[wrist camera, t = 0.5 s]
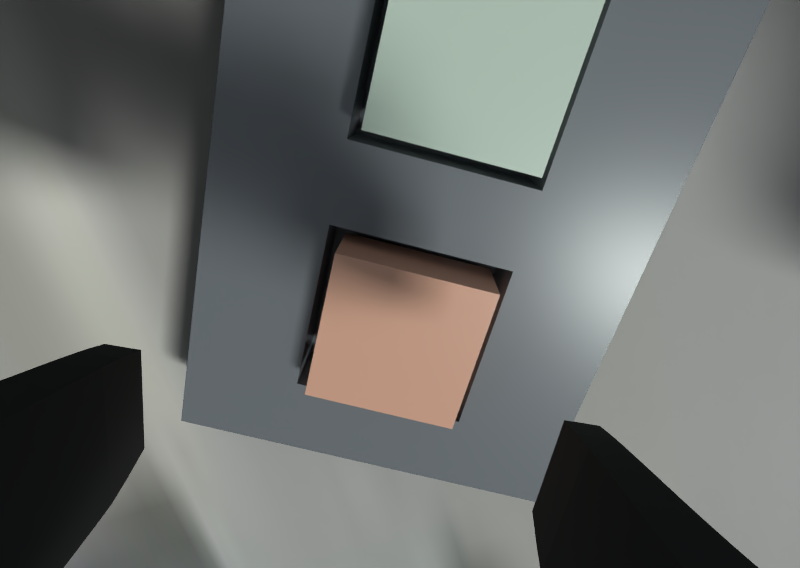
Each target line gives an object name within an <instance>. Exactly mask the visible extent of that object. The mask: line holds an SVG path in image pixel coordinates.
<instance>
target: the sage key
mask: <svg viewBox="0 0 800 568" xmlns="http://www.w3.org/2000/svg"><path fill="white" fill-rule="evenodd" d="M604 3H605V0H389V1H388V6H387V11H386V15H385V20H384V25H383V30H382V34H381V39H380V44H379V48H378V53H377V58H376V62H375V67H374V72H373V76H372V81H371V86H370V91H369V95H368V100H367V105H366V109H365V114H364V119H363V123H362V128H361V130H363V131H367V132H371V133H375V134H378V135H382V136H386V137H390V138H393V139H397V140H401V141H405V142H408V143H412V144H416V145H420V146H423V147H427V148H431V149H435V150H438V151H442V152H446V153H450V154H453V155H457V156H461V157H465V158H469V159H472V160H476V161H480V162H484V163H487V164H491V165H495V166H499V167H502V168H506V169H510V170H514V171H517V172H521V173H525V174H529V175H532V176H536V177H540V178H542V177H543V174H544V171H545V168H546V165H547V163H548V160H549V157H550V154H551V151H552V149H553V146H554V143H555V140H556V137H557V135H558V132H559V129H560V126H561V123H562V121H563V118H564V115H565V112H566V109H567V107H568V104H569V101H570V98H571V95H572V93H573V90H574V87H575V84H576V82H577V79H578V76H579V73H580V70H581V68H582V65H583V62H584V59H585V56H586V54H587V51H588V48H589V45H590V42H591V40H592V37H593V34H594V31H595V28H596V26H597V23H598V20H599V17H600V14H601V12H602V9H603V6H604Z"/></svg>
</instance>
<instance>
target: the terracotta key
mask: <svg viewBox="0 0 800 568" xmlns="http://www.w3.org/2000/svg"><path fill="white" fill-rule="evenodd" d="M499 297H500V293H499V291H498V288H497V286H496V283H495V280H494V278H493V275H492V273H491V270H490V269H487V268H483V267H480V266H476V265H472V264H468V263H464V262H460V261H456V260H452V259H448V258H444V257H440V256H436V255H432V254H428V253H424V252H421V251H417V250H413V249H409V248H405V247H401V246H397V245H393V244H389V243H385V242H381V241H377V240H373V239H369V238H365V237H362V236H358V235H354V234H350V233H346V234H345V235H344V237H343V239H342V241H341V243H340V245H339V246H338V248H337V250H336V252H335V255H334V260H333V264H332V269H331V274H330V278H329V283H328V288H327V292H326V297H325V302H324V306H323V311H322V316H321V321H320V325H319V330H318V335H317V339H316V344H315V349H314V353H313V358H312V363H311V367H310V372H309V377H308V382H307V386H306V391H305V395H309V396H313V397H317V398H322V399H326V400H330V401H334V402H339V403H343V404H347V405H351V406H356V407H360V408H364V409H368V410H373V411H377V412H381V413H385V414H390V415H394V416H398V417H402V418H407V419H411V420H415V421H419V422H424V423H428V424H432V425H436V426H441V427H445V428H449V429H452V428H453V426H454V423H455V420H456V417H457V414H458V412H459V409H460V406H461V403H462V400H463V398H464V395H465V392H466V389H467V386H468V384H469V381H470V378H471V375H472V372H473V370H474V367H475V364H476V361H477V358H478V356H479V353H480V350H481V347H482V344H483V342H484V339H485V336H486V333H487V330H488V328H489V325H490V322H491V319H492V316H493V314H494V311H495V308H496V305H497V302H498V300H499Z"/></svg>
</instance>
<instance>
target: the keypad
mask: <svg viewBox="0 0 800 568" xmlns="http://www.w3.org/2000/svg"><path fill="white" fill-rule="evenodd" d="M388 1H389V0H225V5H224V15H223V24H222V34H221V44H220V53H219V63H218V73H217V82H216V92H215V101H214V111H213V121H212V130H211V140H210V149H209V159H208V169H207V178H206V188H205V198H204V207H203V217H202V226H201V236H200V246H199V255H198V265H197V275H196V284H195V294H194V303H193V313H192V323H191V332H190V342H189V351H188V361H187V371H186V380H185V390H184V400H183V409H182V419H181V421H185V422H189V423H194V424H198V425H202V426H207V427H211V428H216V429H220V430H224V431H229V432H233V433H237V434H242V435H246V436H251V437H255V438H259V439H264V440H268V441H272V442H277V443H281V444H285V445H290V446H294V447H299V448H303V449H307V450H312V451H316V452H320V453H325V454H329V455H333V456H338V457H342V458H347V459H351V460H355V461H360V462H364V463H368V464H373V465H377V466H381V467H386V468H390V469H395V470H399V471H403V472H408V473H412V474H416V475H421V476H425V477H429V478H434V479H438V480H443V481H447V482H451V483H456V484H460V485H464V486H469V487H473V488H477V489H482V490H486V491H491V492H495V493H499V494H504V495H508V496H512V497H517V498H521V499H525V500H530V501H534V502H536V499H537V496H538V494H539V491H540V488H541V485H542V482H543V479H544V476H545V474H546V471H547V468H548V465H549V462H550V459H551V456H552V454H553V451H554V448H555V445H556V442H557V439H558V437H559V434H560V431H561V428H562V425H563V422H564V420H566V421H572V422H573V421H574V419H575V417H576V414H577V412H578V410H579V408H580V406H581V404H582V402H583V399H584V397H585V395H586V393H587V391H588V389H589V387H590V384H591V382H592V380H593V378H594V376H595V374H596V372H597V369H598V367H599V365H600V363H601V361H602V359H603V357H604V354H605V352H606V350H607V348H608V346H609V344H610V342H611V339H612V337H613V335H614V333H615V331H616V329H617V327H618V325H619V322H620V320H621V318H622V316H623V314H624V312H625V310H626V307H627V305H628V303H629V301H630V299H631V297H632V295H633V292H634V290H635V288H636V286H637V284H638V282H639V280H640V277H641V275H642V273H643V271H644V269H645V267H646V265H647V262H648V260H649V258H650V256H651V254H652V252H653V250H654V247H655V245H656V243H657V241H658V239H659V237H660V235H661V232H662V230H663V228H664V226H665V224H666V222H667V220H668V217H669V215H670V213H671V211H672V209H673V207H674V205H675V202H676V200H677V198H678V196H679V194H680V192H681V190H682V187H683V185H684V183H685V181H686V179H687V177H688V175H689V172H690V170H691V168H692V166H693V164H694V162H695V160H696V157H697V155H698V153H699V151H700V149H701V147H702V145H703V143H704V140H705V138H706V136H707V134H708V132H709V130H710V128H711V125H712V123H713V121H714V119H715V117H716V115H717V113H718V110H719V108H720V106H721V104H722V102H723V100H724V98H725V95H726V93H727V91H728V89H729V87H730V85H731V83H732V80H733V78H734V76H735V74H736V72H737V70H738V68H739V65H740V63H741V61H742V59H743V57H744V55H745V53H746V50H747V48H748V46H749V44H750V42H751V40H752V38H753V35H754V33H755V31H756V29H757V27H758V25H759V23H760V20H761V18H762V16H763V14H764V12H765V10H766V8H767V5H768V3H769V1H770V0H605V3H604V6H603V9H602V12H601V14H600V17H599V20H598V23H597V26H596V28H595V31H594V34H593V37H592V40H591V42H590V45H589V48H588V51H587V54H586V56H585V59H584V62H583V65H582V68H581V70H580V73H579V76H578V79H577V82H576V84H575V87H574V90H573V93H572V95H571V98H570V101H569V104H568V107H567V109H566V112H565V115H564V118H563V121H562V123H561V126H560V129H559V132H558V135H557V137H556V140H555V143H554V146H553V149H552V151H551V154H550V157H549V160H548V163H547V165H546V168H545V171H544V174H543V177H542V178H540V177H536V176H532V175H529V174H525V173H521V172H517V171H514V170H510V169H506V168H502V167H499V166H495V165H491V164H487V163H484V162H480V161H476V160H472V159H469V158H465V157H461V156H457V155H453V154H450V153H446V152H442V151H438V150H435V149H431V148H427V147H423V146H420V145H416V144H412V143H408V142H405V141H401V140H397V139H393V138H390V137H386V136H382V135H378V134H375V133H371V132H367V131H363V130H361V128H362V123H363V119H364V114H365V109H366V105H367V100H368V95H369V91H370V86H371V81H372V76H373V72H374V67H375V62H376V58H377V53H378V48H379V44H380V39H381V34H382V30H383V25H384V20H385V15H386V11H387V6H388ZM346 233H350V234H354V235H358V236H362V237H365V238H369V239H373V240H377V241H381V242H385V243H389V244H393V245H397V246H401V247H405V248H409V249H413V250H417V251H421V252H424V253H428V254H432V255H436V256H440V257H444V258H448V259H452V260H456V261H460V262H464V263H468V264H472V265H476V266H480V267H483V268H487V269H490V270H491V273H492V275H493V278H494V280H495V283H496V286H497V288H498V291H499V293H500V297H499V300H498V302H497V305H496V308H495V311H494V314H493V316H492V319H491V322H490V325H489V328H488V330H487V333H486V336H485V339H484V342H483V344H482V347H481V350H480V353H479V356H478V358H477V361H476V364H475V367H474V370H473V372H472V375H471V378H470V381H469V384H468V386H467V389H466V392H465V395H464V398H463V400H462V403H461V406H460V409H459V412H458V414H457V417H456V420H455V423H454V426H453V428H452V429H449V428H445V427H441V426H436V425H432V424H428V423H424V422H419V421H415V420H411V419H407V418H402V417H398V416H394V415H390V414H385V413H381V412H377V411H373V410H368V409H364V408H360V407H356V406H351V405H347V404H343V403H339V402H334V401H330V400H326V399H322V398H317V397H313V396H309V395H305V391H306V386H307V382H308V377H309V372H310V367H311V363H312V358H313V353H314V349H315V344H316V339H317V335H318V330H319V325H320V321H321V316H322V311H323V306H324V302H325V297H326V292H327V288H328V283H329V278H330V274H331V269H332V264H333V260H334V255H335V252H336V250H337V248H338V246H339V245H340V243H341V241H342V239H343V237H344V235H345V234H346Z"/></svg>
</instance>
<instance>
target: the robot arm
mask: <svg viewBox="0 0 800 568" xmlns="http://www.w3.org/2000/svg"><path fill="white" fill-rule="evenodd" d="M143 450H144V424H143V396H142V367H141V350H137V349H131V348H125V347H119V346H113V345H107V344H103V345H100V346H96V347H93V348H89V349H86V350H83V351H80V352H77V353H74V354H71V355H68V356H66V357H63V358H60V359H57V360H55V361H52V362H49V363H46V364H44V365H41V366H38V367H36V368H33V369H30V370H28V371H25V372H22V373H20V374H17V375H14V376H12V377H9V378H6V379H4V380H1V381H0V568H64V566H65V565H66V564H67V562H68V561H69V560H70V559H71V557H72V556H73V555H74V553H75V552H76V551H77V549H78V548H79V547H80V545H81V544H82V543H83V541H84V540H85V539H86V537H87V536H88V535H89V534H90V532H91V531H92V530H93V528H94V527H95V526H96V524H97V523H98V522H99V520H100V519H101V518H102V516H103V515H104V514H105V512H106V511H107V509H108V508H109V507H110V505H111V504H112V502H113V501H114V499H115V498H116V496H117V494H118V493H119V491H120V489H121V488H122V486H123V484H124V483H125V481H126V479H127V478H128V476H129V474H130V473H131V471H132V469H133V467H134V466H135V464H136V462H137V460H138V458H139V457H140V455H141V453H142V451H143ZM532 512H533V520H534V527H535V535H536V543H537V550H538V556H539V563H540V568H758V567H757V566H756V565H755V564H753V563H752V562H751V561H750V560H749V559H747V558H746V557H745V556H744V555H743V554H742V553H741V552H739V551H738V550H737V549H736V548H735V547H734V546H733V545H731V544H730V543H729V542H728V541H727V540H726V539H725V538H723V537H722V536H721V535H720V534H719V533H718V532H717V531H716V530H715V529H713V528H712V527H711V526H710V525H709V524H708V523H707V522H706V521H704V520H703V519H702V518H701V517H700V516H699V515H698V514H697V513H696V512H695V511H693V510H692V509H691V508H690V507H689V506H688V505H687V504H686V503H685V502H684V501H683V500H681V499H680V498H679V497H678V496H677V495H676V494H675V493H674V492H673V491H672V490H671V489H670V488H668V487H667V486H666V485H665V484H664V483H663V482H662V481H661V480H660V479H659V478H658V477H657V476H656V475H654V474H653V473H652V472H651V471H650V470H649V469H648V468H647V467H646V466H645V465H644V464H643V463H641V462H640V461H639V460H638V459H637V458H636V457H635V456H634V455H633V454H632V453H631V452H629V451H628V450H627V449H626V448H625V447H624V446H623V445H622V444H621V443H619V442H618V441H617V440H616V439H615V438H614V437H613V436H611V435H610V434H609V433H608V432H606V431H605V430H604V429H603V428H601V427H600V426H597V425H590V424H584V423H578V422H572V421H566V420H564V422H563V425H562V428H561V431H560V434H559V437H558V439H557V442H556V445H555V448H554V451H553V454H552V456H551V459H550V462H549V465H548V468H547V471H546V474H545V476H544V479H543V482H542V485H541V488H540V491H539V494H538V496H537V499H536V502H535V505H534V508H533V511H532Z"/></svg>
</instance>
